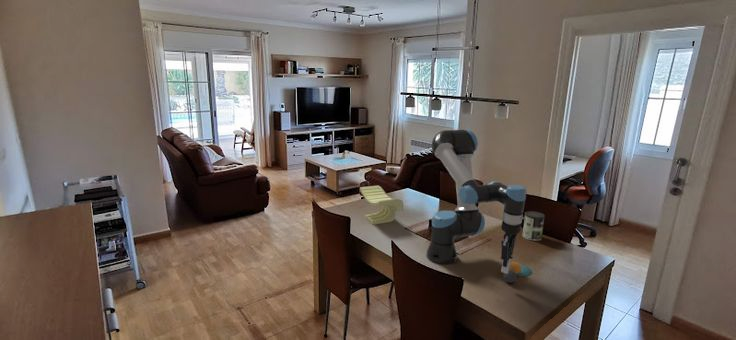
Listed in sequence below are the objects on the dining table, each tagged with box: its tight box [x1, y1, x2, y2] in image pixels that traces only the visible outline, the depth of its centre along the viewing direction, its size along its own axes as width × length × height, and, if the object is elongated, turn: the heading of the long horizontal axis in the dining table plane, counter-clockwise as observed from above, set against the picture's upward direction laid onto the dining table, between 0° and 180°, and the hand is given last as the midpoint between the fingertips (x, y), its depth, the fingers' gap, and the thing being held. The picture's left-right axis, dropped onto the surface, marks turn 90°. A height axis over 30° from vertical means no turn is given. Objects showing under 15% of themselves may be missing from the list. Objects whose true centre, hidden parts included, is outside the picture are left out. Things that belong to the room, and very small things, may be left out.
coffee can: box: [522, 210, 546, 242], centre depth 210 cm, size 10×10×14 cm
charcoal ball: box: [503, 270, 518, 284], centre depth 164 cm, size 6×6×6 cm
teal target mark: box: [510, 262, 533, 277], centre depth 175 cm, size 12×12×1 cm
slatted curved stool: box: [359, 185, 404, 225], centre depth 232 cm, size 30×16×18 cm, turn 23°
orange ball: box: [509, 261, 522, 274], centre depth 171 cm, size 6×6×6 cm
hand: (504, 272), depth 159 cm, fingers closed
